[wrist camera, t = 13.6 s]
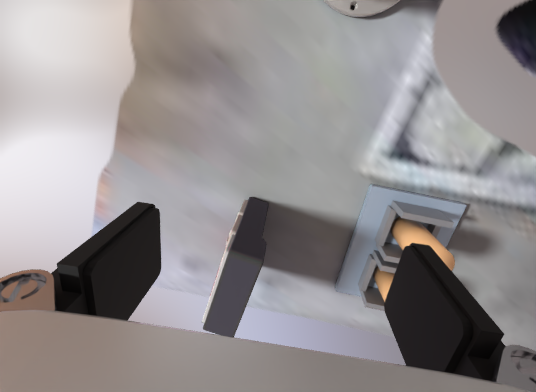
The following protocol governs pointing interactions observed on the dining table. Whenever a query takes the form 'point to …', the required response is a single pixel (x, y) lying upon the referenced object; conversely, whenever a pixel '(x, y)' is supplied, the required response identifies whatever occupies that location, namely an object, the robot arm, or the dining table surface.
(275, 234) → the dining table surface
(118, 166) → the dining table surface
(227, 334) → the dark grey slab
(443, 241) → the housing
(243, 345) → the robot arm
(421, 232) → the tan capsule rod
